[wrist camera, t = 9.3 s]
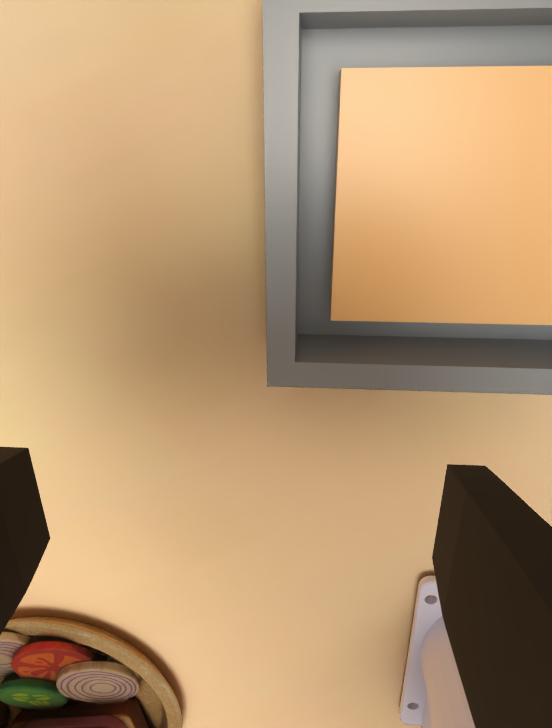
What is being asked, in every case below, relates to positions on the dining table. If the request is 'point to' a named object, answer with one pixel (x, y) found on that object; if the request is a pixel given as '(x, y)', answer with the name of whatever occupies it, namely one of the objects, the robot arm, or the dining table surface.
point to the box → (408, 194)
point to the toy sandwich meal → (79, 679)
